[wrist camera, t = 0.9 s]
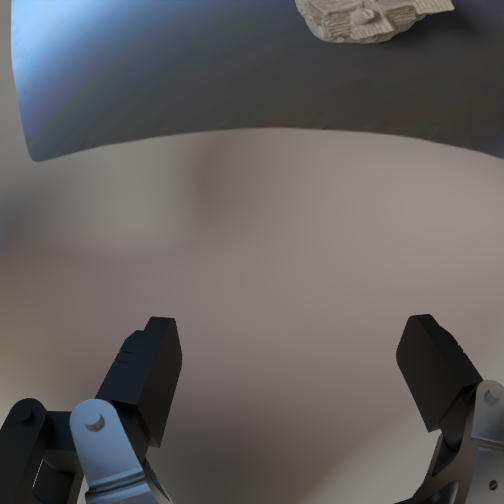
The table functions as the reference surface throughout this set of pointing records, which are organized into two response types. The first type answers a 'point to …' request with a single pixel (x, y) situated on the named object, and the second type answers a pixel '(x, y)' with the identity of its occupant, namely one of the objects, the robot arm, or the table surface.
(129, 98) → the table surface
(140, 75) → the table surface
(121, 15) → the table surface
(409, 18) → the beige jagged towered block
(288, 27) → the table surface
